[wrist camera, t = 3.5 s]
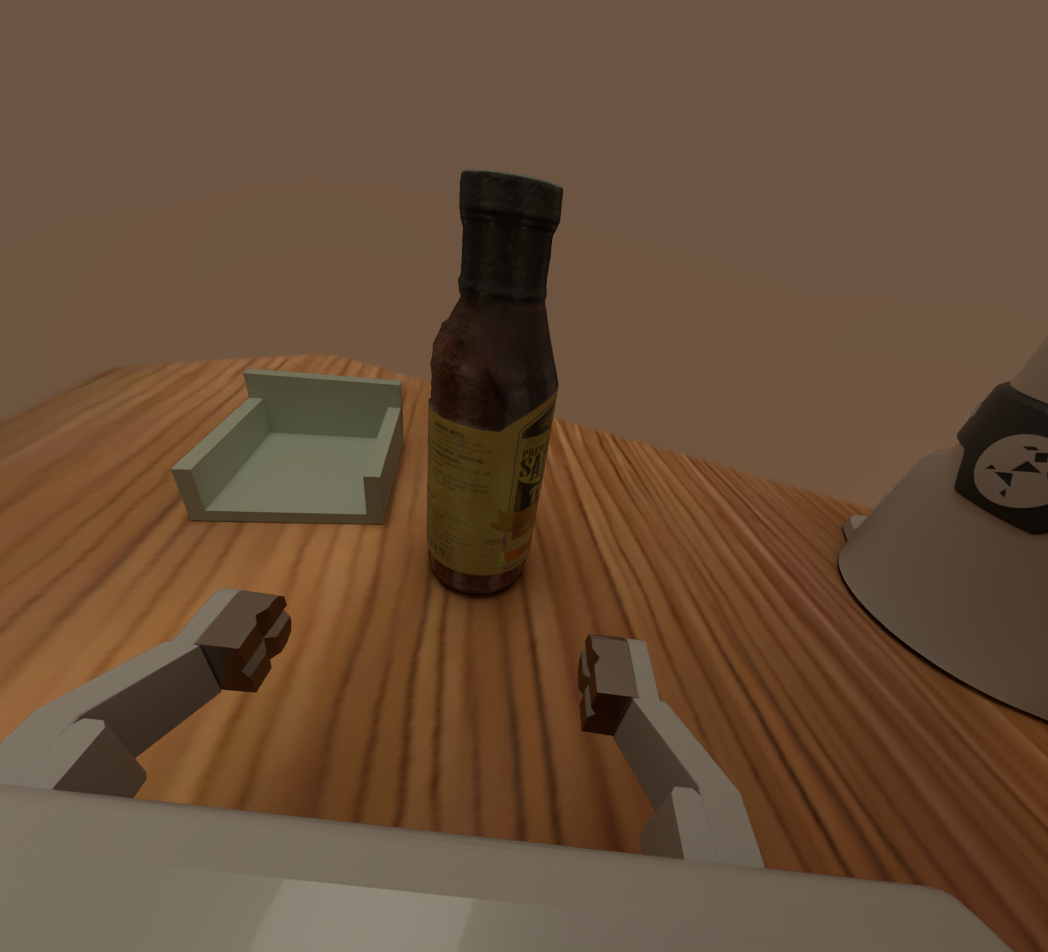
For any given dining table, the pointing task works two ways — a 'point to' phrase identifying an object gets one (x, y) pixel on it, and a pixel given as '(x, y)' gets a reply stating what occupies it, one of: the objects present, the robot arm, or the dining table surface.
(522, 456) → the sauce bottle
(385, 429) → the caddy
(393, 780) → the dining table surface
